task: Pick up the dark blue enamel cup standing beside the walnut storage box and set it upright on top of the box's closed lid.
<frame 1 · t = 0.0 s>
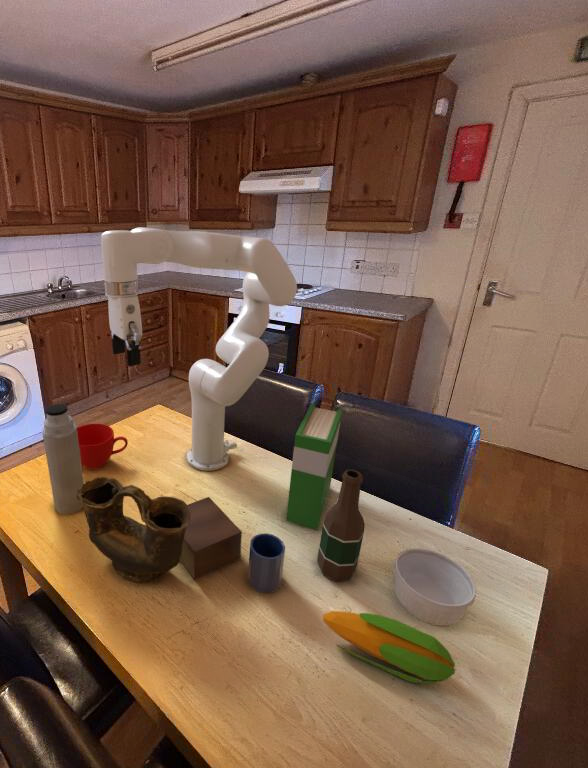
hand: (126, 358, 101), 37 cm above the table, tool pointing down, fingers open, 9 cm apart
thermos bottle: (70, 504, 108), on the table
ceramic cup: (101, 463, 125), on the table
beer bottle: (335, 568, 88), on the table
cup: (264, 579, 85), on the table
box lid: (202, 523, 90), point 7 cm above the table, hinge at 0.0°
box: (202, 549, 93), on the table
corn: (380, 657, 70), on the table
ramekin: (425, 601, 80), on the table
pottery vessel: (136, 564, 90), on the table
hardback book: (308, 504, 107), on the table
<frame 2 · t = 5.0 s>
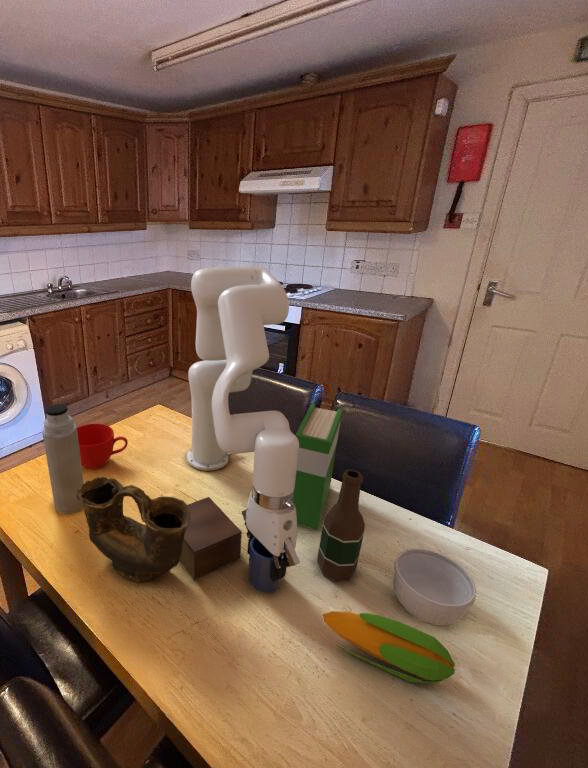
hand: (265, 564, 84), 4 cm above the table, tool pointing down, fingers closed on cup, 6 cm apart
cup: (264, 579, 85), on the table, touching gripper
everything else where it was.
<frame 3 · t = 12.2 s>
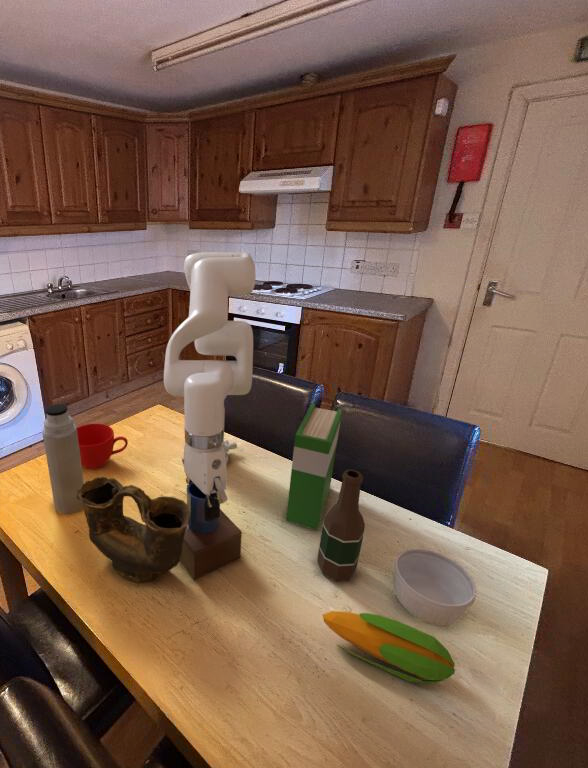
hand: (202, 507, 88), 12 cm above the table, tool pointing down, fingers closed on cup, 6 cm apart
cup: (202, 522, 90), point 8 cm above the table, touching box lid, gripper
box lid: (202, 523, 90), point 7 cm above the table, hinge at -0.2°, touching box, cup
everything else where it was.
when the fingers open (12 cm above the table, at t = 12.3 s): cup stays where it is, resting on box lid.
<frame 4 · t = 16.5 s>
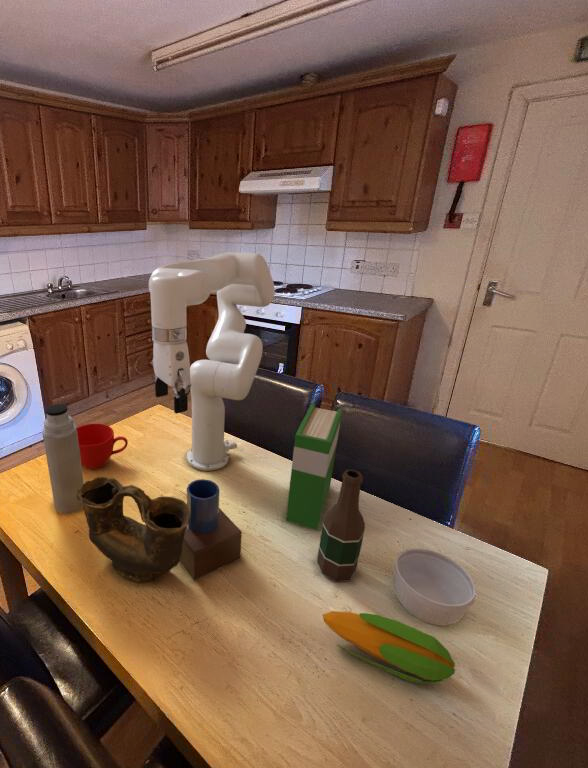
hand: (171, 403, 97), 28 cm above the table, tool pointing down, fingers open, 9 cm apart
cup: (202, 522, 90), point 8 cm above the table, touching box lid
everything else where it was.
at the end: cup inside the target area on the box (0.1 cm from its centre), point 7.6 cm above the box's base; cup tilted 0°; the gripper is holding nothing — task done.
